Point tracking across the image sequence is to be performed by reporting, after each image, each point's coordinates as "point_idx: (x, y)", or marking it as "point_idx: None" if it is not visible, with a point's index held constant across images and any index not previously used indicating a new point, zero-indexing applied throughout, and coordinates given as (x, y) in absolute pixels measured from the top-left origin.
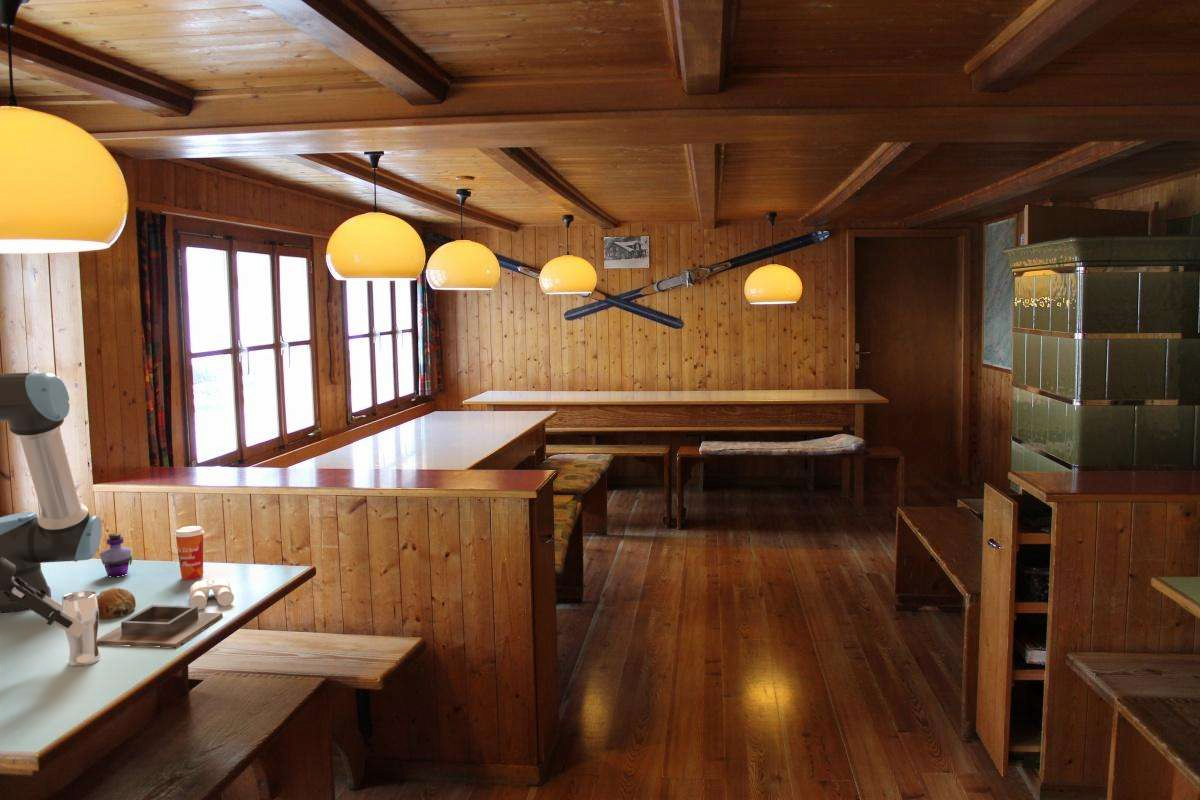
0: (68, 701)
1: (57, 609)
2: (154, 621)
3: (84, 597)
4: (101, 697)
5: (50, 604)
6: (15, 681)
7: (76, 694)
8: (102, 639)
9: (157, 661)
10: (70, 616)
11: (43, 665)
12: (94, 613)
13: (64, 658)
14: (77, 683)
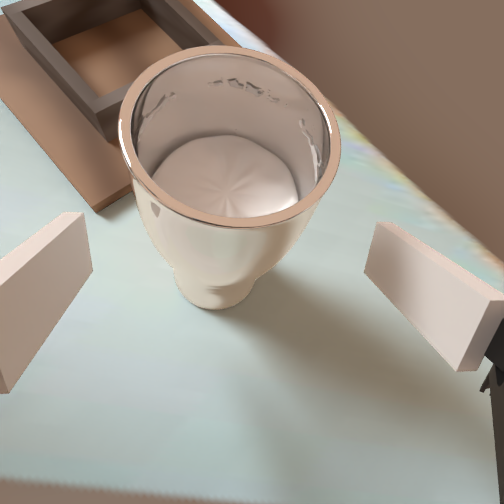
0: (482, 368)
1: (61, 268)
2: (69, 57)
3: (149, 114)
4: None
5: (32, 295)
6: (242, 481)
7: None
8: (101, 189)
9: None
10: (444, 262)
11: (156, 375)
12: (288, 155)
13: (143, 308)
14: (373, 323)
